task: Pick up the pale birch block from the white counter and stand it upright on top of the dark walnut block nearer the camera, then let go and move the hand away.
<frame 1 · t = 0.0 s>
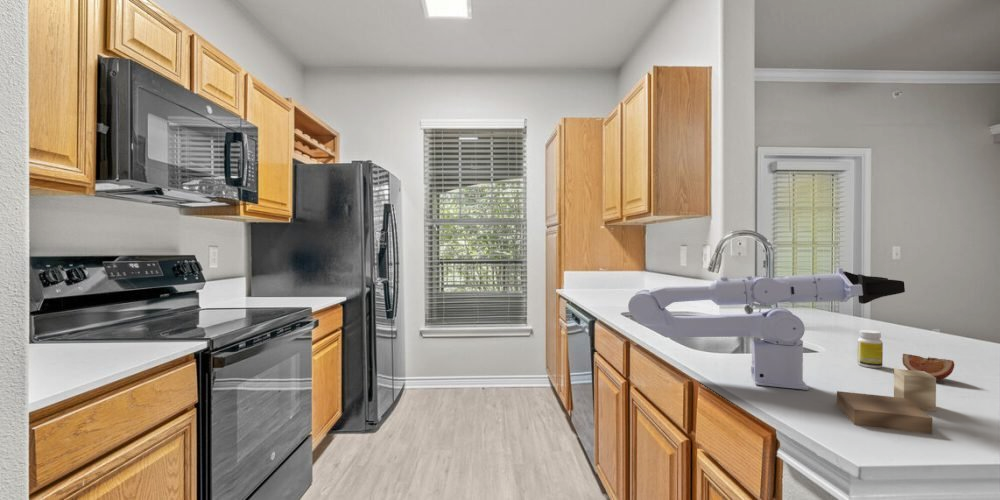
hand: (895, 284, 90), 22 cm above the worktop, tool horizontal, fingers open, 7 cm apart
fruit slice: (927, 379, 101), on the worktop
birch block: (914, 405, 84), on the worktop
supplement bottle: (869, 366, 111), on the worktop
walnut block: (880, 420, 78), on the worktop
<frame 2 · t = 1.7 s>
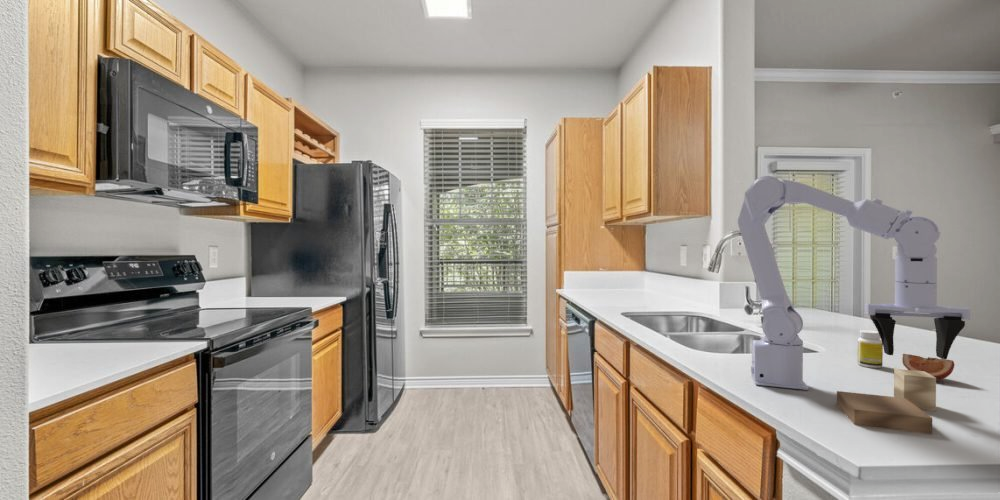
hand: (914, 355, 84), 9 cm above the worktop, tool pointing down, fingers open, 7 cm apart
nothing on the worktop moved.
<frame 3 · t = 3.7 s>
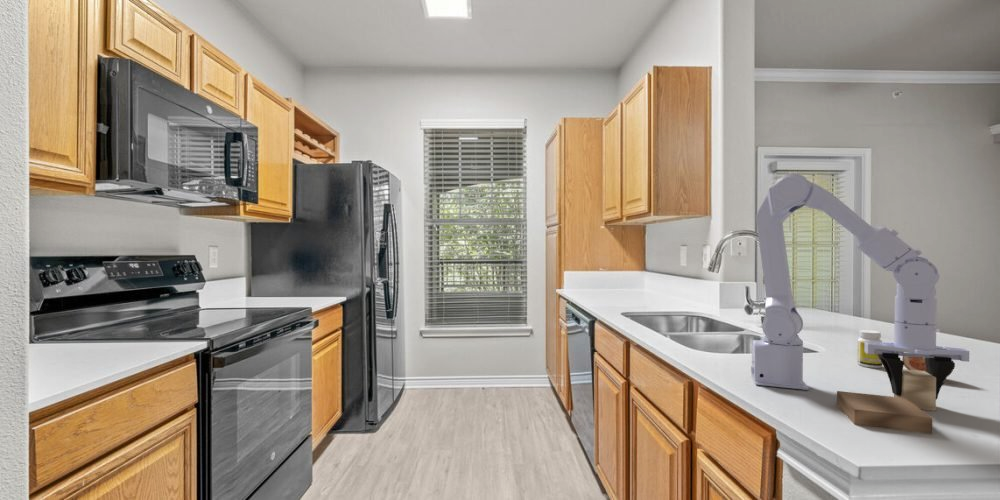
hand: (914, 395, 84), 2 cm above the worktop, tool pointing down, fingers closed on birch block, 4 cm apart
birch block: (914, 405, 84), on the worktop, touching gripper
everything else where it was.
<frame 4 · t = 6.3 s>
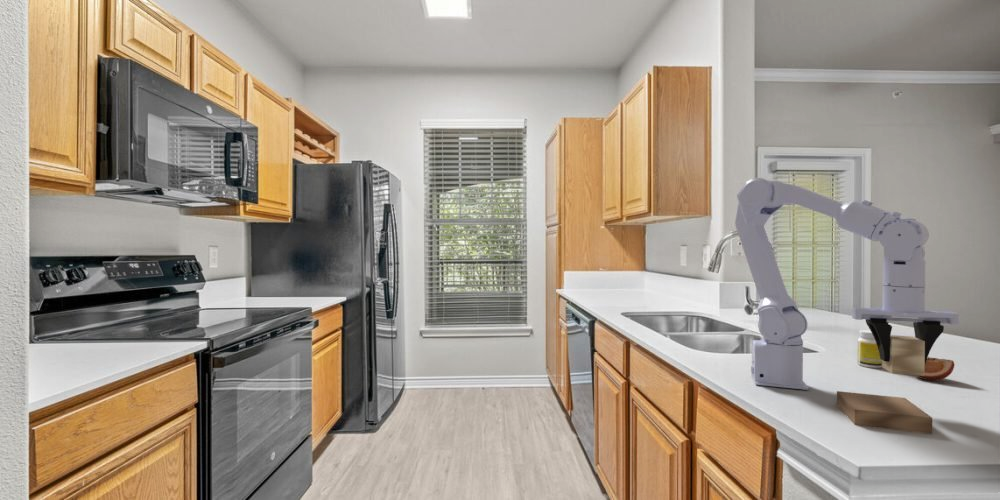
hand: (902, 361, 82), 9 cm above the worktop, tool pointing down, fingers closed on birch block, 4 cm apart
birch block: (902, 371, 82), point 7 cm above the worktop, touching gripper
everything else where it was.
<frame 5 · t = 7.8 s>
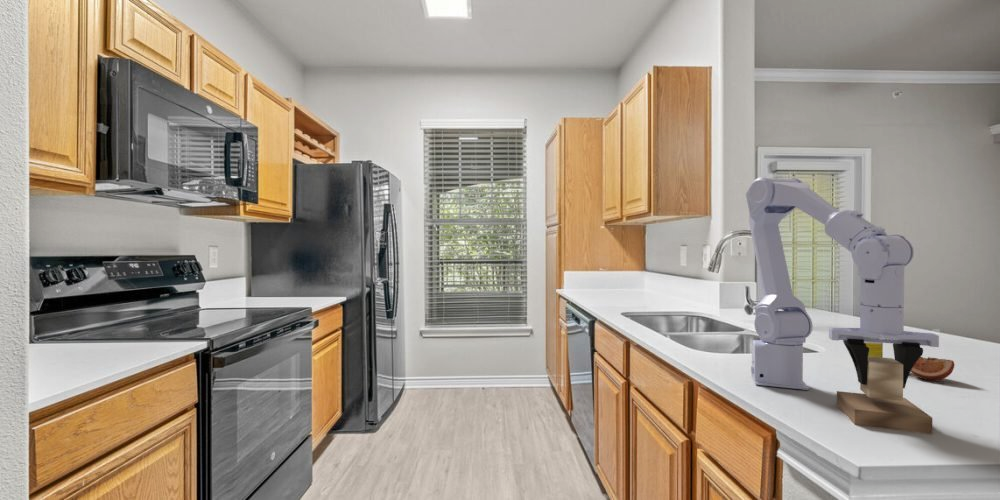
hand: (880, 384, 78), 6 cm above the worktop, tool pointing down, fingers closed on birch block, 4 cm apart
birch block: (880, 394, 78), point 4 cm above the worktop, touching gripper
everything else where it was.
when the fingers open (6 cm above the worktop, at t = 8.8 s): birch block drops 1 cm, resting on walnut block.
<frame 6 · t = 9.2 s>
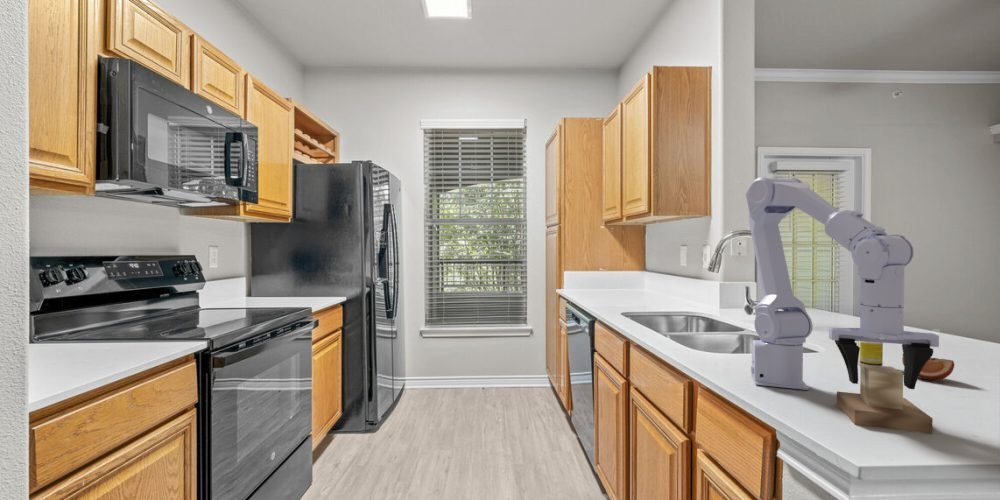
hand: (880, 384, 78), 6 cm above the worktop, tool pointing down, fingers open, 7 cm apart
birch block: (880, 403, 78), point 2 cm above the worktop, touching walnut block
walnut block: (880, 421, 78), on the worktop, touching birch block
everything else where it was.
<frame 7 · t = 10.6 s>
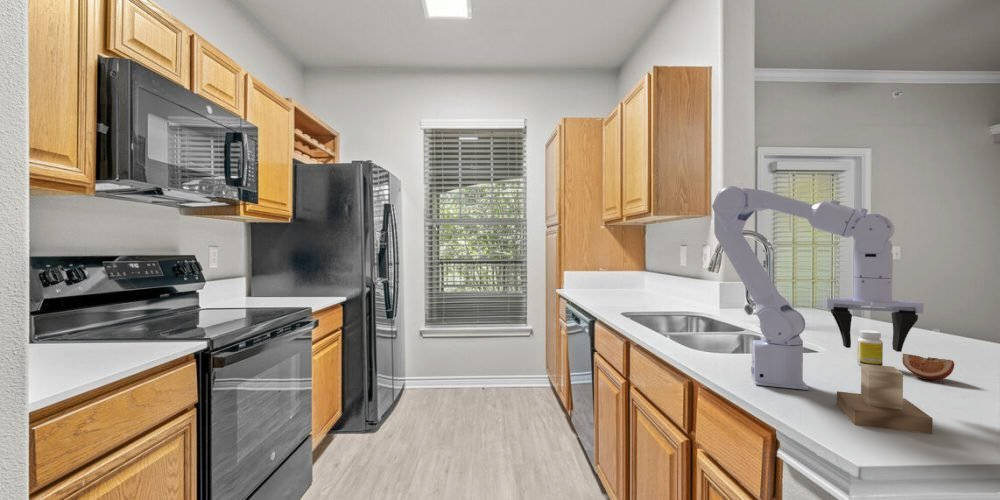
hand: (871, 348, 87), 10 cm above the worktop, tool pointing down, fingers open, 7 cm apart
nothing on the worktop moved.
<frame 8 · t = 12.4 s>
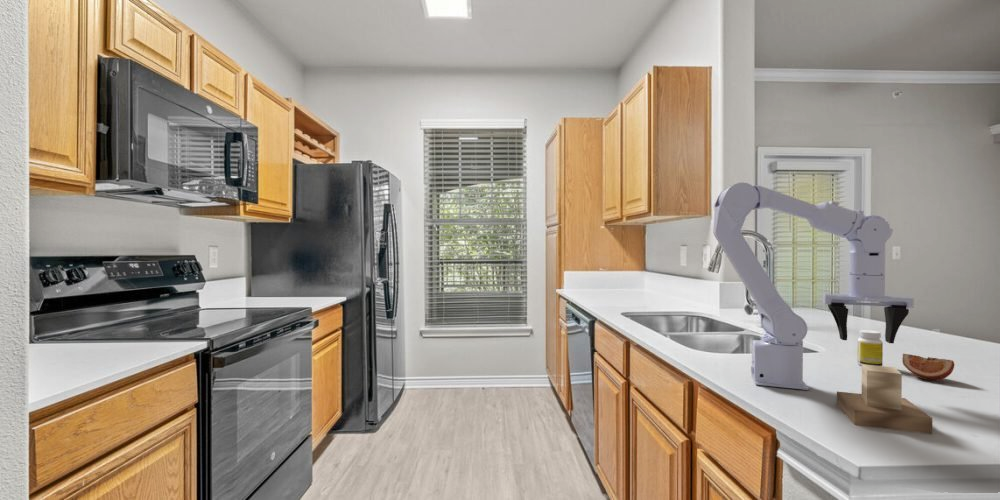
hand: (866, 340, 94), 10 cm above the worktop, tool pointing down, fingers open, 7 cm apart
birch block: (880, 403, 78), point 2 cm above the worktop
walnut block: (880, 421, 78), on the worktop
everything else where it was.
at the end: birch block inside the target area on the walnut block (0.2 cm from its centre), point 3.0 cm above the walnut block's base; birch block tilted 0°; the gripper is holding nothing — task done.
